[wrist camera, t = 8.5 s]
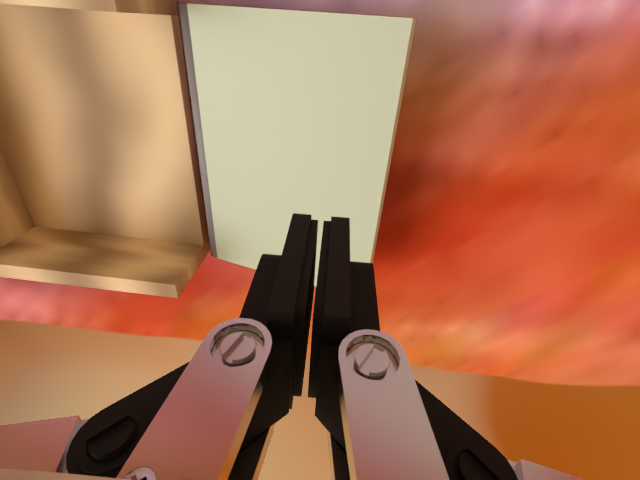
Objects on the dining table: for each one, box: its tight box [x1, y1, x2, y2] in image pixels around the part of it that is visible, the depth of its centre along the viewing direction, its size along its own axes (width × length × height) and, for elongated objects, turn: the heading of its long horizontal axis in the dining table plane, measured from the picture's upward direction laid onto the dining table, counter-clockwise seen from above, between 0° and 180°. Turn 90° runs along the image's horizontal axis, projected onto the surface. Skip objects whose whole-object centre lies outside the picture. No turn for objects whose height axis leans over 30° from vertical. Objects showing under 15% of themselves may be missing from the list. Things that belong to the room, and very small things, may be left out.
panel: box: [178, 3, 416, 286], centre depth 18 cm, size 1×14×11 cm
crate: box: [0, 0, 210, 298], centre depth 19 cm, size 13×15×5 cm
